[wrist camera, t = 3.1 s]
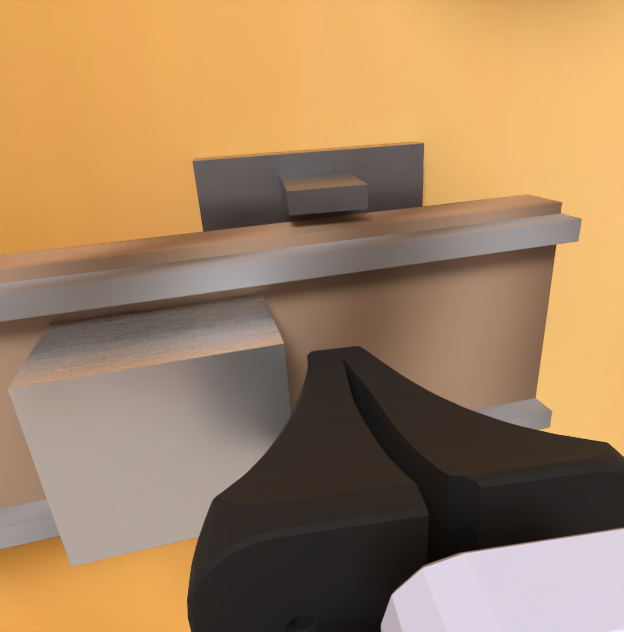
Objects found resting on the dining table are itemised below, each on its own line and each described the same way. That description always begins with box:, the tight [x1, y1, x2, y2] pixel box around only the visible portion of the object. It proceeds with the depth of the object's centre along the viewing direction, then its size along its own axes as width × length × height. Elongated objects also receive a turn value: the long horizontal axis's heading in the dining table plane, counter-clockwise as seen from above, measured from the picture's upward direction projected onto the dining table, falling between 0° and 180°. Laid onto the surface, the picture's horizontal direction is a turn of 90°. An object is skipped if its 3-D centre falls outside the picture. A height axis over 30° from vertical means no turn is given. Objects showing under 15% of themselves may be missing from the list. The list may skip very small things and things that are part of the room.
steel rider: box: [8, 294, 291, 567], centre depth 11 cm, size 5×4×3 cm
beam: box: [0, 195, 582, 549], centre depth 12 cm, size 23×7×4 cm, turn 94°
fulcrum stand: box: [193, 142, 424, 232], centre depth 16 cm, size 7×10×4 cm
